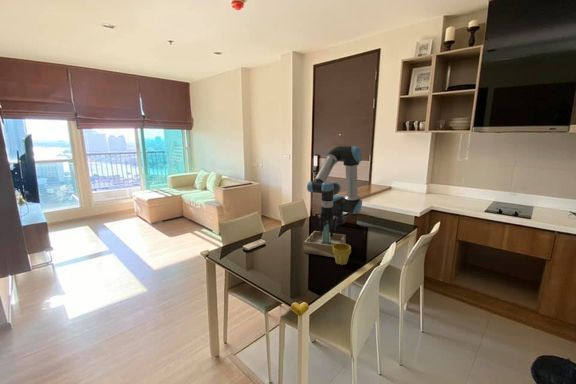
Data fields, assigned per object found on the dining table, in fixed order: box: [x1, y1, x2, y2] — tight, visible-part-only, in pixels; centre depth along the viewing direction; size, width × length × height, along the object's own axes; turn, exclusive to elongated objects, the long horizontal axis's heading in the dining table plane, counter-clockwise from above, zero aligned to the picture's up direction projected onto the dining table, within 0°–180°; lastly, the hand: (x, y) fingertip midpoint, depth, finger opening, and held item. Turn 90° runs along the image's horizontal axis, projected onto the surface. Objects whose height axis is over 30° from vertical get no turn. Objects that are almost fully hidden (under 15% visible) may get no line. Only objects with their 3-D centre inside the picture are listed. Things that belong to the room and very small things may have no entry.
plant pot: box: [333, 243, 352, 266], centre depth 158 cm, size 10×10×10 cm
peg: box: [323, 224, 330, 244], centre depth 180 cm, size 4×4×12 cm
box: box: [303, 230, 347, 258], centre depth 178 cm, size 22×22×7 cm
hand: (326, 240), depth 181 cm, fingers closed on peg, 4 cm apart
